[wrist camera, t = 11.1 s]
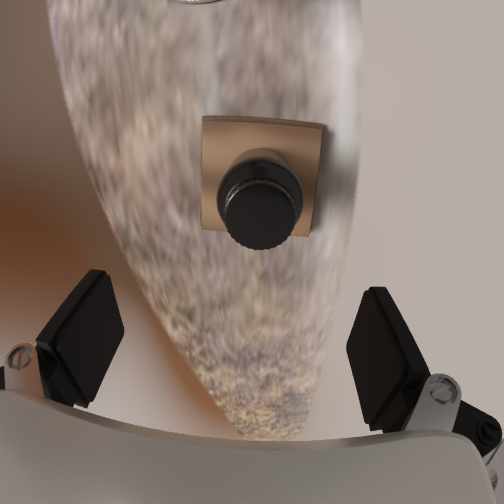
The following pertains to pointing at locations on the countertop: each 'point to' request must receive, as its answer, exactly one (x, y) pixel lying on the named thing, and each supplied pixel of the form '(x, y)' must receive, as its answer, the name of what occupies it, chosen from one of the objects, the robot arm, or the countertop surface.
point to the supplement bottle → (260, 199)
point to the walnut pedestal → (250, 137)
